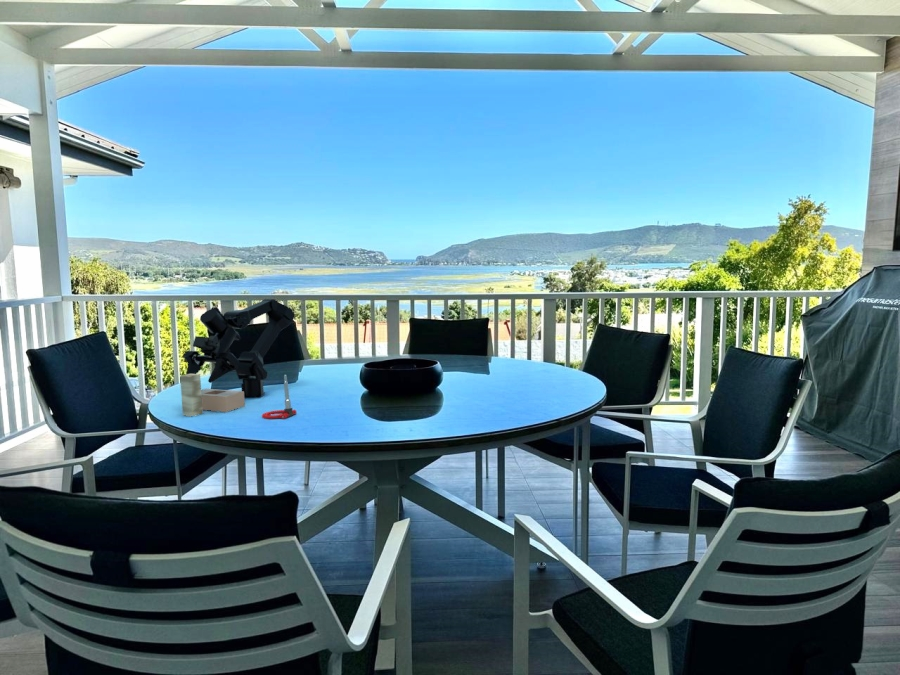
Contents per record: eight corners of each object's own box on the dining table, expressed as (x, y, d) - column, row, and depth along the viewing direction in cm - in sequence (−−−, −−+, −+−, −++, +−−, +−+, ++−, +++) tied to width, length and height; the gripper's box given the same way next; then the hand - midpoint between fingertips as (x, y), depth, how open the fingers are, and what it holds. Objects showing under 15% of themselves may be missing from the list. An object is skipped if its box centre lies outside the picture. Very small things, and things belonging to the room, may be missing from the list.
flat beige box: (207, 403, 197) (206, 388, 196) (244, 406, 191) (243, 391, 190) (187, 408, 189) (186, 393, 188) (226, 412, 183) (225, 396, 183)
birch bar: (193, 412, 183) (190, 373, 182) (202, 413, 182) (200, 374, 181) (183, 415, 180) (180, 375, 178) (192, 416, 178) (190, 376, 177)
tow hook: (256, 420, 175) (283, 420, 172) (252, 377, 173) (279, 377, 171) (272, 413, 183) (298, 413, 180) (268, 372, 181) (294, 372, 179)
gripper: (185, 326, 189) (159, 364, 180) (230, 327, 182) (206, 367, 173) (205, 347, 197) (181, 385, 188) (249, 349, 190) (226, 388, 181)
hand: (197, 381), depth 182 cm, fingers open, 9 cm apart
